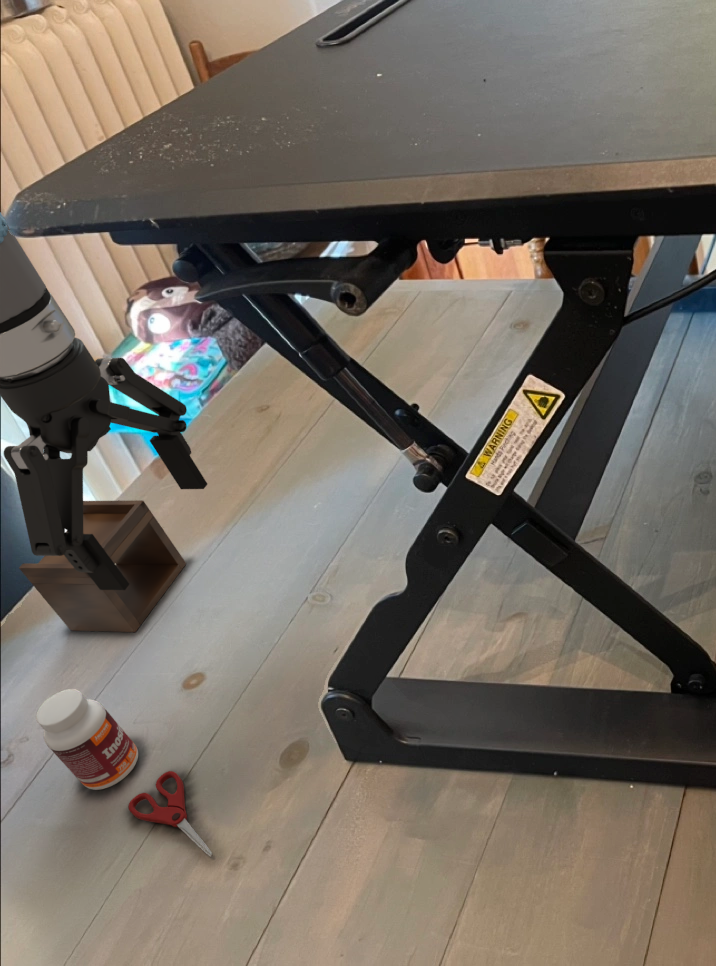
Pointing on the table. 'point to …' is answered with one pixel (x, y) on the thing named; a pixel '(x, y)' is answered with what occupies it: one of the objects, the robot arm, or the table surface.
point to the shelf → (137, 556)
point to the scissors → (169, 809)
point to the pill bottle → (86, 739)
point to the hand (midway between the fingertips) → (156, 534)
